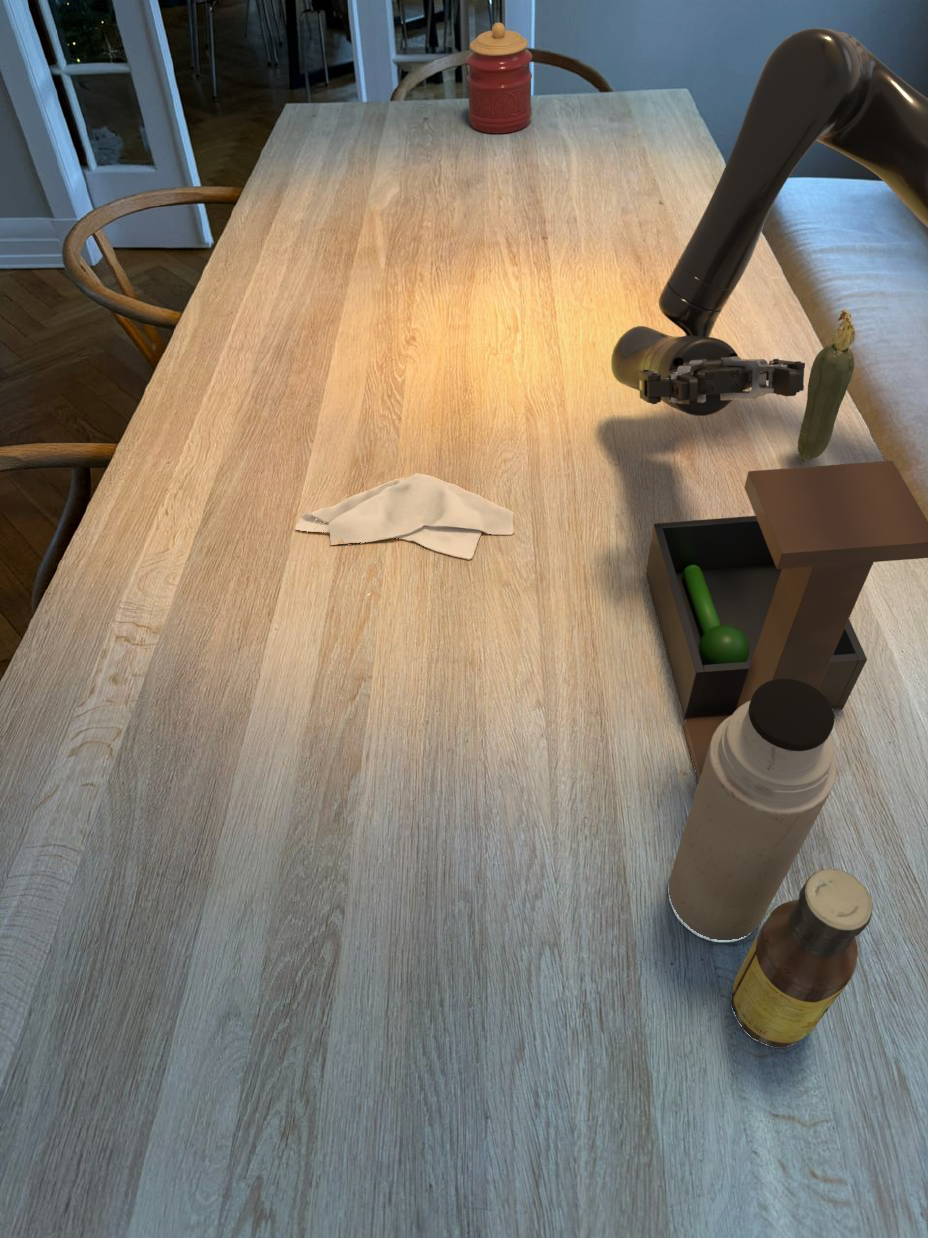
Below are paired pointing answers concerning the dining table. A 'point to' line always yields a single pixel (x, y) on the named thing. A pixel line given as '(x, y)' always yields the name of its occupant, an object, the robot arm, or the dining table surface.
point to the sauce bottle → (801, 959)
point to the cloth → (414, 516)
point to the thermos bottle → (753, 808)
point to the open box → (725, 610)
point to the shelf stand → (819, 565)
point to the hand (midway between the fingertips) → (743, 387)
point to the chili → (713, 625)
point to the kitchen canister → (499, 81)
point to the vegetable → (827, 390)
